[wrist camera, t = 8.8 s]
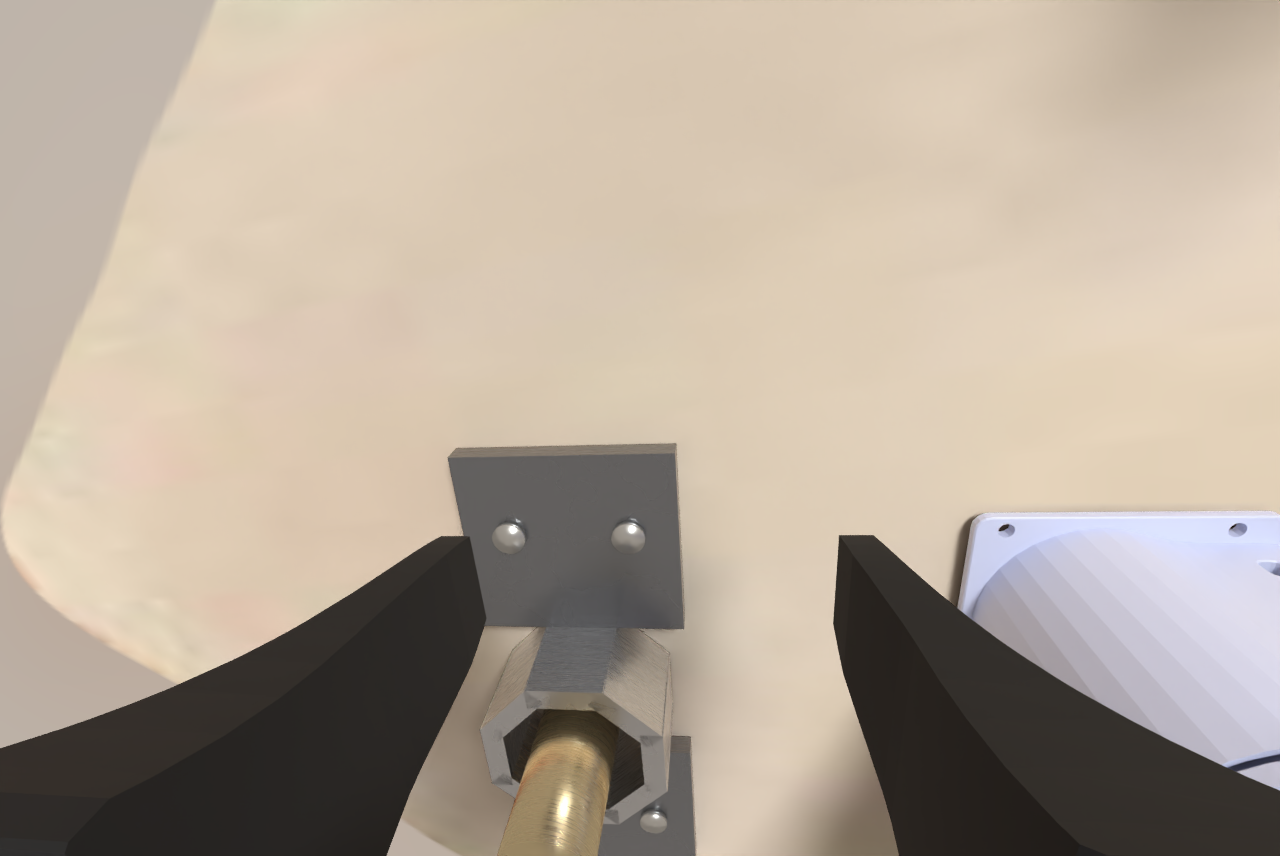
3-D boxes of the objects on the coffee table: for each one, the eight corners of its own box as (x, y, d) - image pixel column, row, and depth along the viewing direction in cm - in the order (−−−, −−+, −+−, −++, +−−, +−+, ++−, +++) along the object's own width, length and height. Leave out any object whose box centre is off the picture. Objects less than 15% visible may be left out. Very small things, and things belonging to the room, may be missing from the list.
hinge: (456, 448, 22) (405, 503, 18) (676, 443, 21) (670, 500, 17) (535, 839, 30) (511, 931, 26) (696, 848, 29) (694, 946, 25)
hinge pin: (628, 648, 24) (591, 850, 17) (628, 702, 26) (593, 913, 18) (556, 641, 25) (490, 836, 17) (559, 695, 26) (498, 899, 19)
